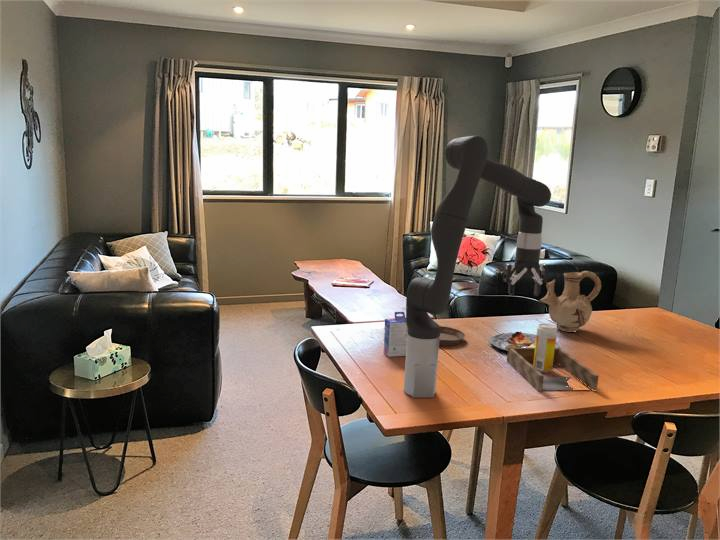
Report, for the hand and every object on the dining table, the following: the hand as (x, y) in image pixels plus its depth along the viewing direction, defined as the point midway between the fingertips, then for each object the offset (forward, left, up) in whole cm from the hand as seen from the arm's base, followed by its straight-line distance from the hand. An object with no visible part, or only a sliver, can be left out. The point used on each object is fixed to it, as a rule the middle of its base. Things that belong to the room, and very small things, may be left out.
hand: (523, 295), depth 190 cm
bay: (-10, -7, -24) cm, 27 cm away
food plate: (+17, -10, -24) cm, 31 cm away
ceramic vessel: (+40, -37, -24) cm, 59 cm away
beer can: (-5, -7, -24) cm, 26 cm away
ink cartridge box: (+10, +38, -24) cm, 46 cm away
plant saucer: (+26, +19, -24) cm, 40 cm away
